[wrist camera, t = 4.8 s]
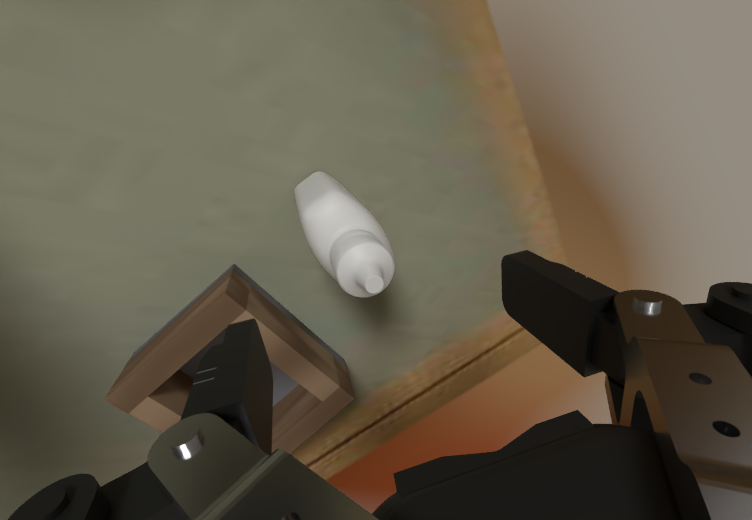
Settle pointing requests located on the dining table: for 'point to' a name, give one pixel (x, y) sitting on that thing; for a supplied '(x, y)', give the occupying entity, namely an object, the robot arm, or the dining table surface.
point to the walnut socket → (207, 328)
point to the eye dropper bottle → (344, 236)
